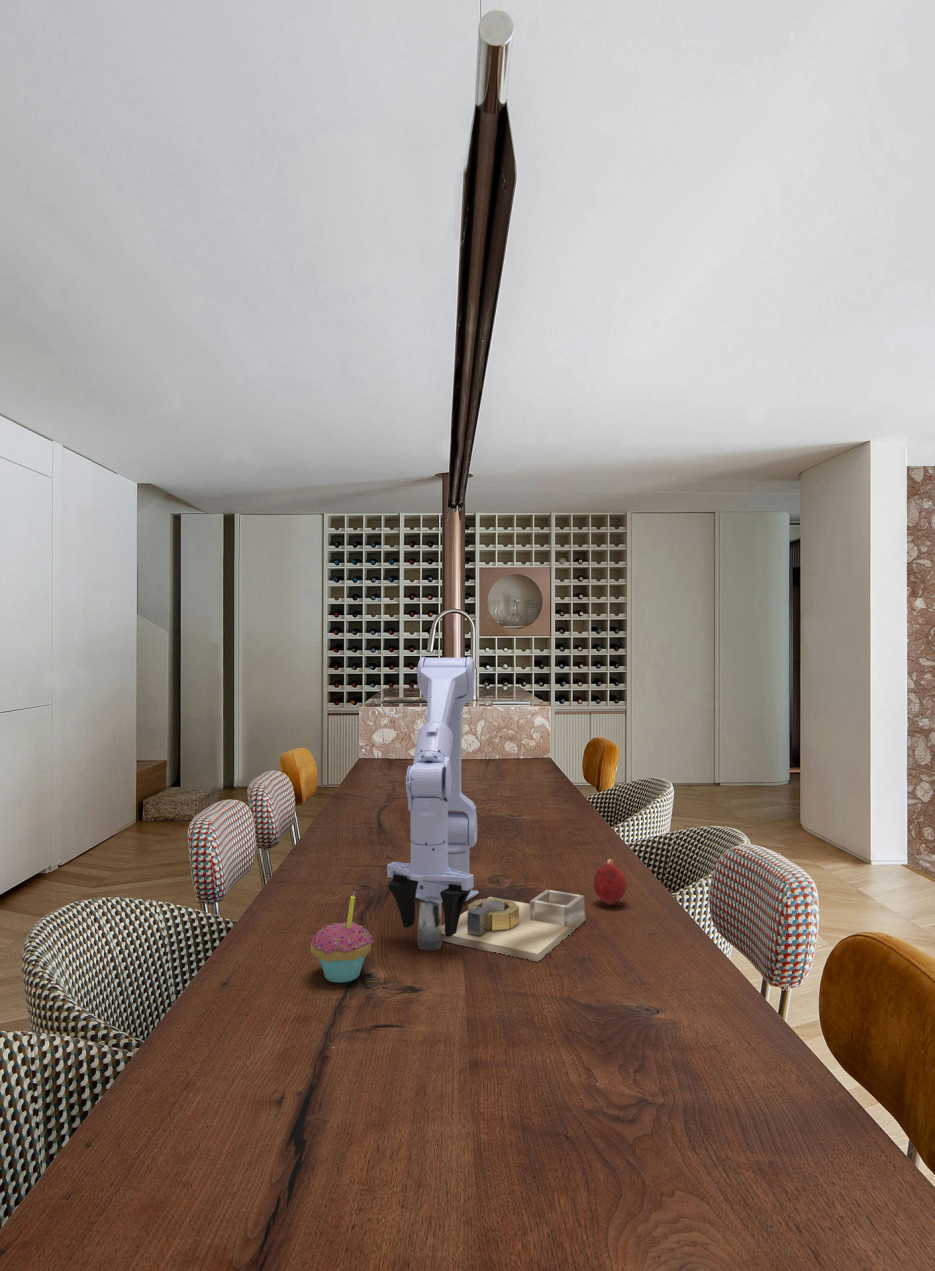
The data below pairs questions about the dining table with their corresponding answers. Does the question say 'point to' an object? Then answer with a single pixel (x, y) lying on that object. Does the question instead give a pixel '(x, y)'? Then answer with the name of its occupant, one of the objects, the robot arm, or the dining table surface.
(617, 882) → the onion
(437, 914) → the pin
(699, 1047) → the dining table surface
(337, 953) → the cupcake
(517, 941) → the board
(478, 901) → the ring nut
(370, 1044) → the dining table surface
